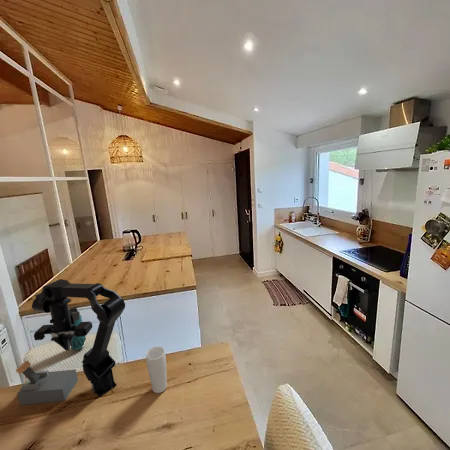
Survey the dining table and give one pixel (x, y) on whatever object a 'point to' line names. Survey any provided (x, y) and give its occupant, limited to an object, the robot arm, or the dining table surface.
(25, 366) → the lever
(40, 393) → the base
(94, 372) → the robot arm
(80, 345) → the beverage bottle
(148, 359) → the drinking glass
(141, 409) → the dining table surface
